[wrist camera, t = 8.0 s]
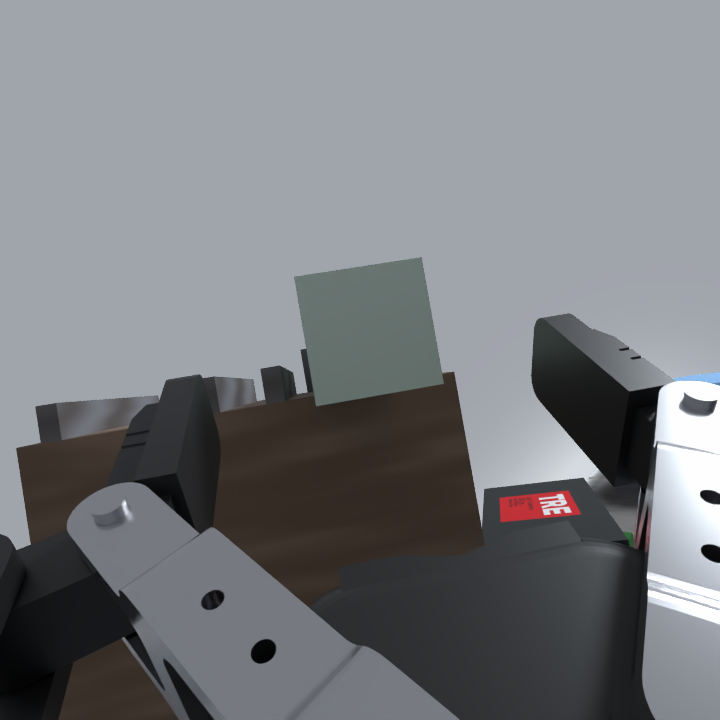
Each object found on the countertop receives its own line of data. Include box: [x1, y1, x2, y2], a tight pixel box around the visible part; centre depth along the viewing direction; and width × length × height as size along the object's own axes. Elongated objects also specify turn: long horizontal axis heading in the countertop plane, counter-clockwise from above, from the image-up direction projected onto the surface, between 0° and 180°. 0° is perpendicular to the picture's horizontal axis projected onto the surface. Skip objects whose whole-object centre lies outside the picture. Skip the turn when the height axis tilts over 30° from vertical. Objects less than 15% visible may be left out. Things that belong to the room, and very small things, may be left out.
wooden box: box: [17, 366, 485, 720], centre depth 28 cm, size 14×18×34 cm
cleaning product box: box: [482, 478, 629, 546], centre depth 41 cm, size 16×9×20 cm, turn 166°
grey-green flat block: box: [294, 258, 444, 406], centre depth 25 cm, size 26×4×6 cm, turn 5°
